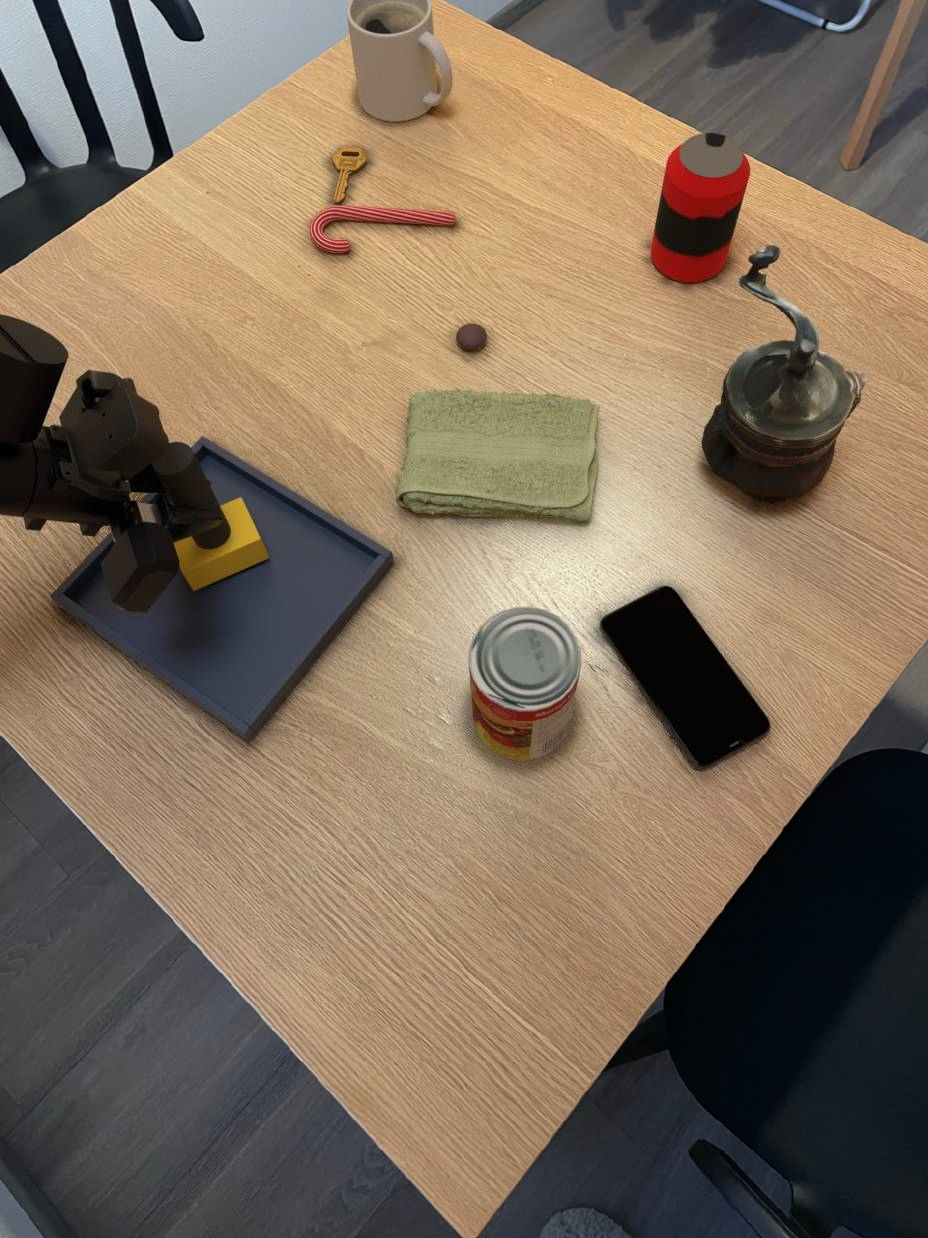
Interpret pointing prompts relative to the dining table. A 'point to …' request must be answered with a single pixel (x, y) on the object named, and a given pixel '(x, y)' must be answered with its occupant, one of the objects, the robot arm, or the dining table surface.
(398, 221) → the candy cane
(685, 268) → the soda can
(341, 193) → the key
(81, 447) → the robot arm
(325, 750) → the dining table surface
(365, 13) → the mug
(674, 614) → the smartphone
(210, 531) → the sponge wand
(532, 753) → the canned food
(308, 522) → the tray
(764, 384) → the coffee grinder
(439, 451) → the washcloth
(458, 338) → the chocolate truffle
